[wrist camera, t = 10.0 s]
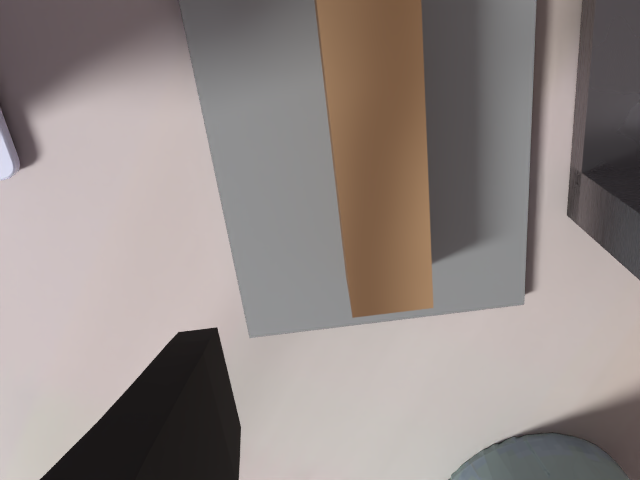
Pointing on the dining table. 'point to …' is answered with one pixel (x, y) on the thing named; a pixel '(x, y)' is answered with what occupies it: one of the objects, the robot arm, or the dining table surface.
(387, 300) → the walnut bar
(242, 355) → the dining table surface
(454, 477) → the teal tumbler
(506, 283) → the grey mat
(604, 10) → the dark grey cradle
